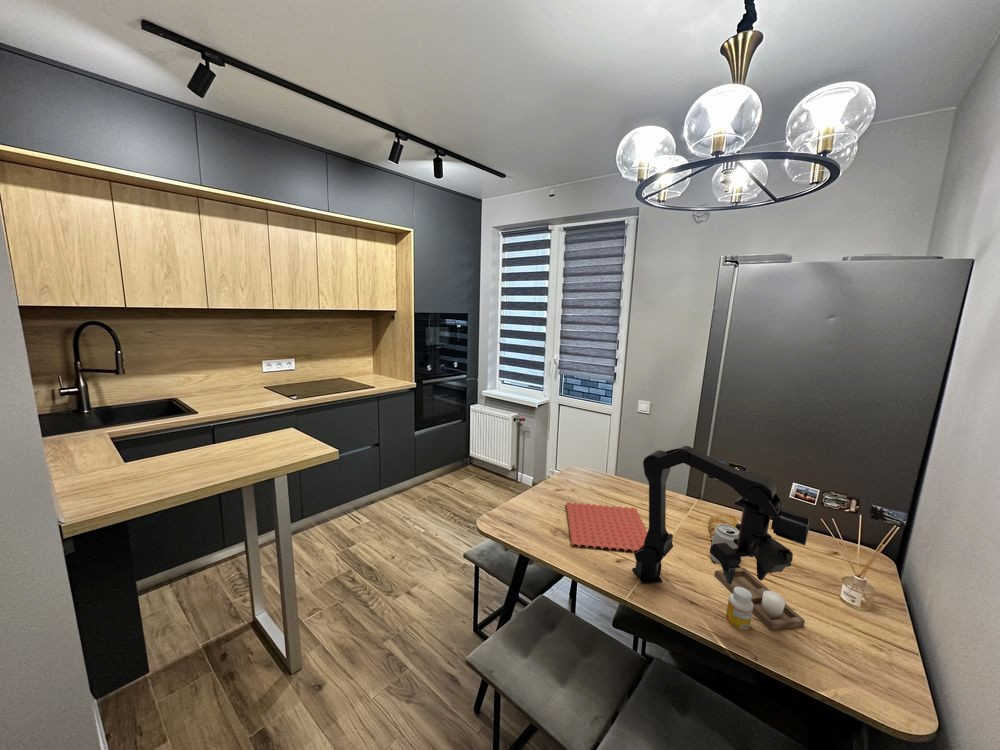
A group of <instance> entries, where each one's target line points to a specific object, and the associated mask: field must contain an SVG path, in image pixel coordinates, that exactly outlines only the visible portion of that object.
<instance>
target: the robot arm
mask: <svg viewBox="0 0 1000 750" xmlns="http://www.w3.org/2000/svg"><path fill="white" fill-rule="evenodd" d="M683 464H685V465H687V466H689V467H690V468H693V469H695V470H697V471H699V472H701V473H703V474H705V475H707V476H709V477H711V478H714V479H716V480H717V481H719V482H721V483H723V484H726V485H728V486H729V487H730V488H732V489H733V490H734V491H735V492H736V494H738V495H739V497H737V498H736V500H735V501H734V502H733V504H734V505H735V506H738V507H741V508H742V512H741V519H740V523H739V524H736V528H737V529H738V530H739V536H738V538H736V539H734V541H733V542H734V543H735V544H736V545H737V547H738V548H734V549H733V548H731V547H730V546H729V545H728V544H726V543H717V544H712V543H711V545H710V548H709V554H710V555H711V554H712V555H713V556H714V557H715V558H716V559H717V560H718V561H719V562H720V564H719V565H720V566H721V568H722V569H721V570H723V572H724V575H725V578H726V581H727V582H728V583H729V584H732V581H733V578H734V573H735V569H738V568H741V566H740V565H741V563H742V559H743V558H755V560H756V576H757V578H756V579H757V580H759V581H760V582H762V581H763V580H764V579H765V578H766V577H767V575H768V574H773V573H782V572H783V571H784V570H785V569H786V568H788V567H792V562H793V559H794V558H793V556H794V554H793V552H792V551H791V550H790V549H789V548H788V547H786V546H785V545H783V544H782V543H780V542H779V541H778V540H776V539H775V538H773V537H772V535H771V534H769V533H768V531H769V525H770V520H771V518H772V521H771V522H772V523H771V525H770V527H771V528H770V529H771V530H773V533H772V534H774V535H775V536H777V537H780V538H782V539H785V540H788V541H791V542H794V543H796V544H799V545H801V546H806V544H807V541H808V536H809V532H810V525H809V524H810V519H811V517H810V515H807V514H804V513H798V512H795V511H792V510H789V509H787V508H783V507H784V502H783V501H782V499H781V497H780V496H779V495H778V492H777V486H776V484H775V482H774V480H773V479H771V478H770V477H768V476H766V475H762V474H759V473H756V472H752V471H746V470H741V469H738V468H736V467H733V466H731V465H728V464H726V463H725V462H722V461H720V460H718V459H716V458H713V457H711V456H709V455H707V454H705V453H702V452H701V451H698V450H696V449H695V448H693V447H692V446H689V445H683V446H681V447H677V448H673V449H668V450H661V449H659V450H655V451H653V452H652V453H650V454H649V455H647V456H646V457H645V458H644V459H643V462H642V465H643V472H644V476H645V478H646V480H647V482H648V530H647V535H646V538H645V541H644V545H643V546H642V547H641V548H640V549H639V550H636V551H635V552H634V553H633V555H634V559H635V567H632V572H633V573H634V574H635V576H636V577H637V578H638V580H639V581H640V583H642V584H643V585H645V584H654V583H656V584H658V583H662V581H663V579H662V578H661V574H662V573H661V572H662V566H663V564H662V560H663V559H664V558H665V557H666V556H667V555H668V553H670V551H671V550H672V549H673V548H674V544H673V538H674V536H673V535H674V534H672V533H668V530H667V526H666V524H667V523H666V509H667V505H666V499H667V498H666V497H667V495H666V490H667V486H666V484H667V481H668V478H669V475H670V471H671V468H673V467H676V466H678V465H683Z"/></svg>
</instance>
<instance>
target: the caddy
mask: <svg viewBox="0 0 1000 750" xmlns="http://www.w3.org/2000/svg"><path fill="white" fill-rule="evenodd" d="M714 577H715V578H716V579H717V580H718V582H720V583H721V584H722V585H723V586H724V587H725V588H726V589H727V590H728V591H729V592H730V593H731V594H733V591H734V588H735V587H742V588H745V589H747V590H748V591H749V592H750V593H751V594H752V599H751V602H752V603H753V611H752V615H754V617H756V618H757V620H759V621H760V622H761V623H762V624H763V625H764V626H765V627H766V628H767V629H768V630H769V631H772V632H773V631H779V630H788V629H794V628H802V627H805V622H806V620H805V619H804V618H803V617H802V616H801V615H800V614H798V613H797V612H796V611H795V610H794V609H793V608H791V607H790V606H789V605H788V604H787V603H785V606H784V611H783V616H782V619H777V620H772V619H770V618H769V617H768V616H767V615H766V614H765V613H764V612H762V611H761V610H760V609H761V603H762V598H763V593H764V591H771V589H769V588H768V587H767V586H766V585H765V584H763V583H762V581H760V580H759V579H758V578H756V577H755V576H754V575H753V574H752V573H750V572H749V571H748V570H747V569H746V568H745V567H740V568H737V569H735V573H734V578H733V581H732V584H729V583H728V582H727V581H726V578H725V575H724V572H723V569H719V570H718V569H717V570H715V571H714Z"/></svg>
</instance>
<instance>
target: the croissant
mask: <svg viewBox="0 0 1000 750" xmlns="http://www.w3.org/2000/svg"><path fill="white" fill-rule="evenodd" d="M719 524H727V525H730V526H733V527H735V528H736V524H740V523H739V521H738V520H737V519H736V517H735V516H734V515H726V514H715V515H713V516H711V517H709V519H708V520H707V525H708V530H709V531H710V532H709V535H710V539H711V541H712V542H713V536H714V529H715V528H716V527H717V526H718V525H719ZM736 529H737V528H736ZM737 530H738V529H737ZM738 531H739V530H738Z"/></svg>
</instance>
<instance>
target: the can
mask: <svg viewBox="0 0 1000 750" xmlns="http://www.w3.org/2000/svg"><path fill="white" fill-rule="evenodd" d="M738 536H739V531H738V530H737V529H736V528H735V527H733V526H730V525H727V524H719V525H718V526H717V527H716V528H715V529H714V536H713V541H712V543H711V545H712V544H717V543H726V544H728V545H729V546H730V547H731V548H733V549H734V548H738V547H737V545H736V544H735V543H734V542H733V541H734V539H736V538H738ZM709 556H710V558H711V560H712V561H713V562H714V563H715V564H717V565H721V564H720V562H719V561H718V560H717V559H716V558H715V557H714V556H713V555H712V554H710V555H709Z"/></svg>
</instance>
